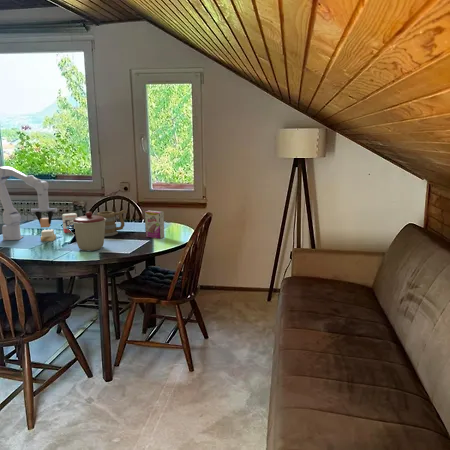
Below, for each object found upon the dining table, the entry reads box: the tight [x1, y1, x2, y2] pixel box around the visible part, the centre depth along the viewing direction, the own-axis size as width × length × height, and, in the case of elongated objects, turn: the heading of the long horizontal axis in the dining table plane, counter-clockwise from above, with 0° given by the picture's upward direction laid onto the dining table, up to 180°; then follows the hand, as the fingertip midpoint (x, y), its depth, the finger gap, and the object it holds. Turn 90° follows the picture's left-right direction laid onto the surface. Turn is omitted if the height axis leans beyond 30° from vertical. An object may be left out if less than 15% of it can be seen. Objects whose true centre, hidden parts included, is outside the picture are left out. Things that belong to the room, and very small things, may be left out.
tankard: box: [96, 209, 128, 237], centre depth 271 cm, size 20×13×15 cm, turn 114°
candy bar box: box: [144, 210, 165, 240], centre depth 261 cm, size 11×5×16 cm, turn 65°
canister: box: [72, 211, 106, 252], centre depth 234 cm, size 18×18×21 cm
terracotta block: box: [39, 217, 52, 228], centre depth 254 cm, size 4×4×5 cm
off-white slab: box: [40, 229, 55, 237], centre depth 256 cm, size 6×6×3 cm
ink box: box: [61, 212, 78, 234], centre depth 277 cm, size 8×5×12 cm, turn 123°
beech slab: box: [40, 233, 57, 242], centre depth 257 cm, size 7×7×3 cm
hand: (45, 223), depth 254 cm, fingers closed on terracotta block, 4 cm apart
